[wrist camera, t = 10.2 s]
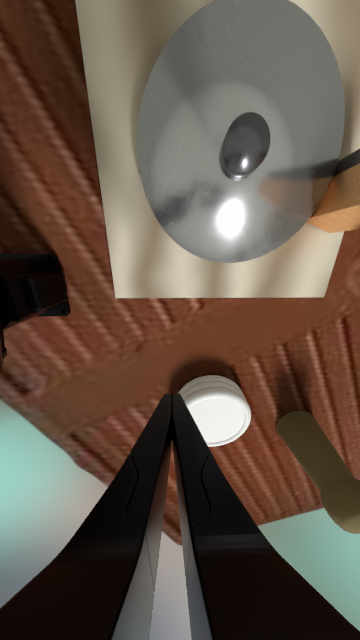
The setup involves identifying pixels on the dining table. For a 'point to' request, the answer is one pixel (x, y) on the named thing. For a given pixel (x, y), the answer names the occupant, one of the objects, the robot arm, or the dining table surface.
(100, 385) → the dining table surface
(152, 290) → the birch base board
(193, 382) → the coaster
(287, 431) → the cork
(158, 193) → the flange plate
